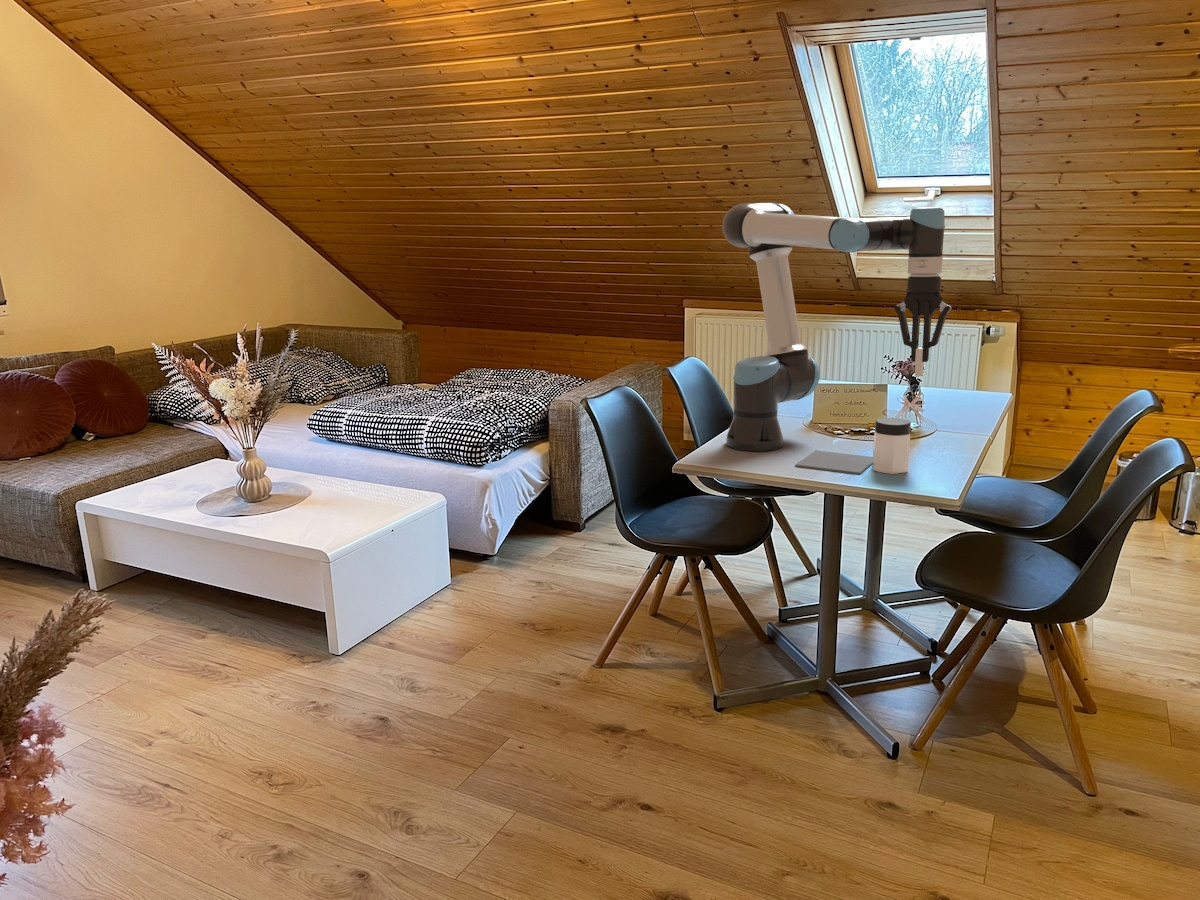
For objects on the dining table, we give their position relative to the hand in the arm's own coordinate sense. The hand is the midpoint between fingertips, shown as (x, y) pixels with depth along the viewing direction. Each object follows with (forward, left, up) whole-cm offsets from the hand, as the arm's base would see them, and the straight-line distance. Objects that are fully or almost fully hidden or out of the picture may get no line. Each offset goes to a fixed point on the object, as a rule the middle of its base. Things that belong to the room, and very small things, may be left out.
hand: (918, 375), depth 216 cm
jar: (-4, -7, -23) cm, 24 cm away
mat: (-17, -7, -22) cm, 29 cm away
